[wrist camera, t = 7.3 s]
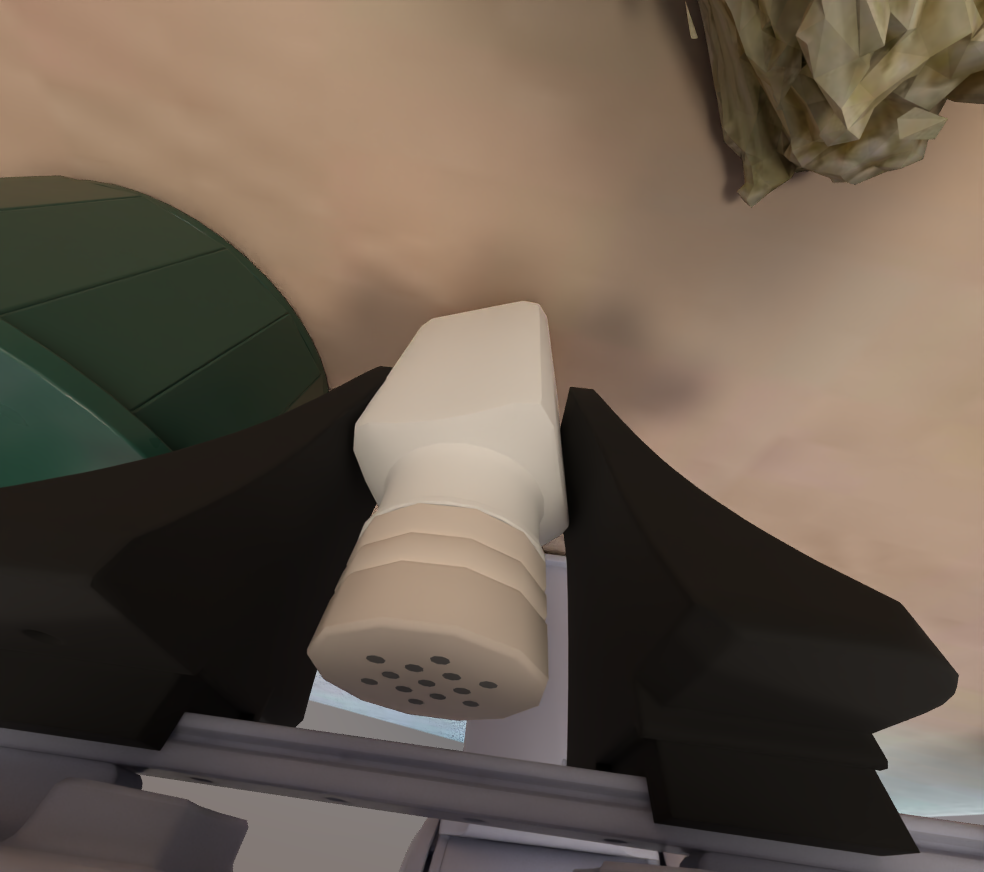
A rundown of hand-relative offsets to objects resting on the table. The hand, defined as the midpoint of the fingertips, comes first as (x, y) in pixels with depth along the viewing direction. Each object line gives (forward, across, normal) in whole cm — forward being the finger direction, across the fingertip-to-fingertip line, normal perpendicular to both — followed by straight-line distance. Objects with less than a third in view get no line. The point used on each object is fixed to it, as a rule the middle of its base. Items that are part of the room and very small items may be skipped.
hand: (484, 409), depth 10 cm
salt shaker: (+3, 0, 0) cm, 3 cm away
